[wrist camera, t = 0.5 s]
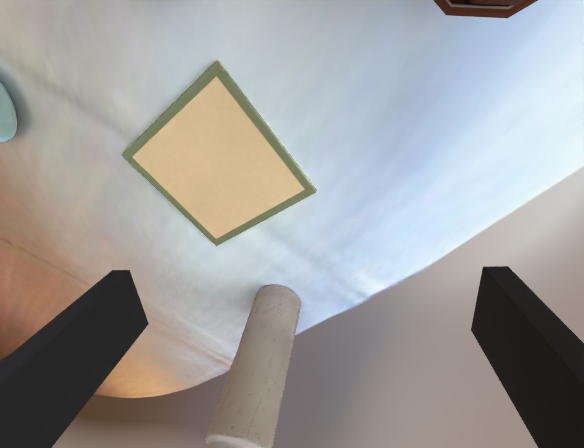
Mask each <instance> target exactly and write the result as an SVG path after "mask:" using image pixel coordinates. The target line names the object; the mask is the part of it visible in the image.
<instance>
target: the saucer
mask: <svg viewBox="0 0 584 448" xmlns="http://www.w3.org/2000/svg"><path fill="white" fill-rule="evenodd" d="M16 129H17V116H16V111H15V107H14V105H13V102H12V100H11V98H10V96H9V94H8V92H7V91H6V89H5V88H4V86H3V85H2V84H1V83H0V143H1V142H6V141H9V140H10V139H12V138H13V136H14V135H15V133H16Z"/></svg>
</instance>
